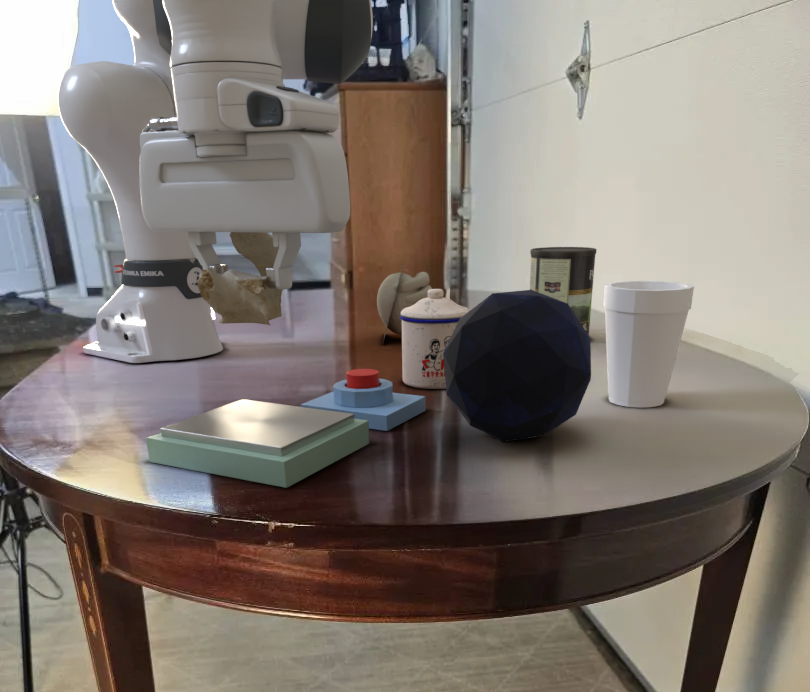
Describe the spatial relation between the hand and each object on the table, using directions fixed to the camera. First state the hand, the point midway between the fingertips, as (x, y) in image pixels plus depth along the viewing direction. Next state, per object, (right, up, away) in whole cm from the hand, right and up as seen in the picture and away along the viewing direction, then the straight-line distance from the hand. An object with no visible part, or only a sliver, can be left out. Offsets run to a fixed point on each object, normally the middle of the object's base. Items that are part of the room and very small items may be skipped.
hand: (248, 287), depth 69 cm
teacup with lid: (+19, -2, +33) cm, 38 cm away
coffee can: (+39, +11, +59) cm, 72 cm away
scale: (0, -14, +6) cm, 15 cm away
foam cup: (+41, -6, +22) cm, 47 cm away
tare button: (+9, -6, +17) cm, 20 cm away
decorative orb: (+25, -12, +10) cm, 30 cm away
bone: (0, -3, +1) cm, 3 cm away
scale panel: (+9, -8, +18) cm, 22 cm away
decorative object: (+14, +11, +61) cm, 64 cm away
